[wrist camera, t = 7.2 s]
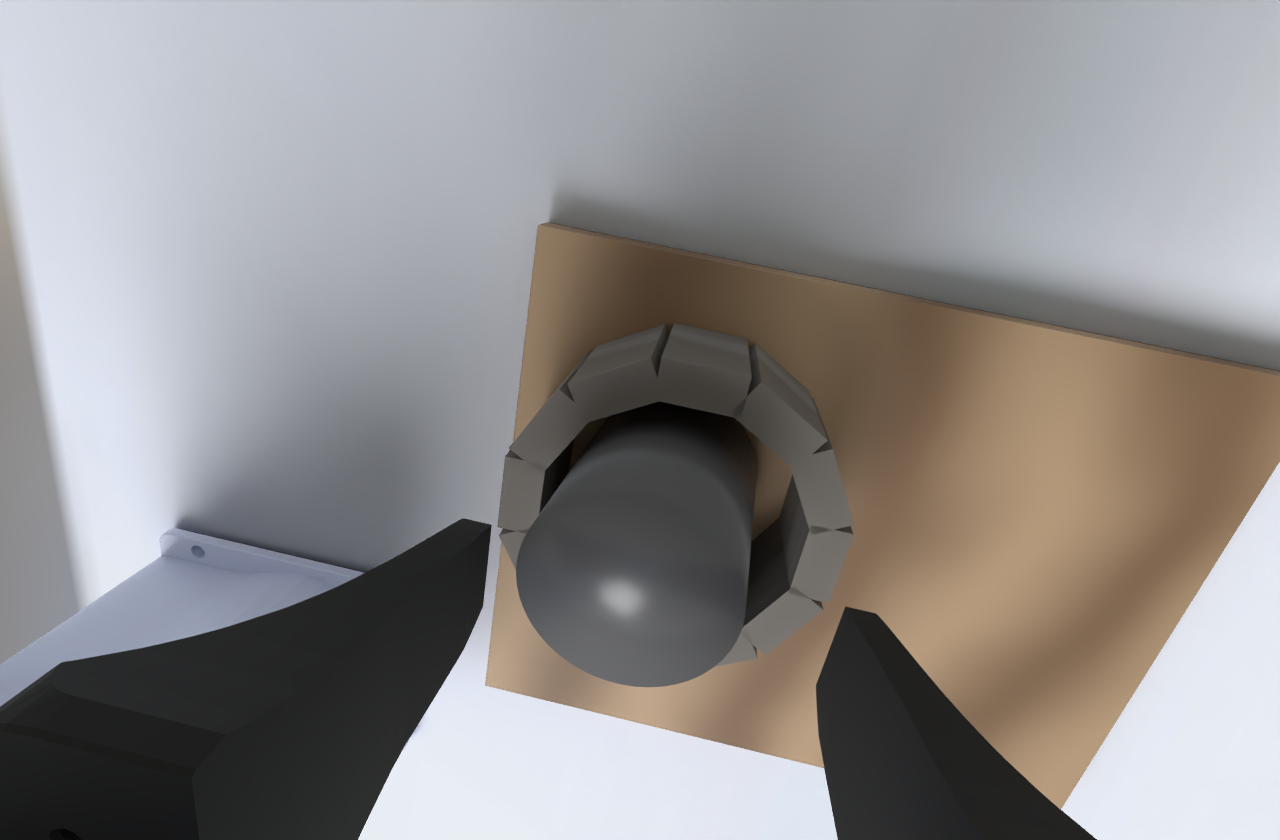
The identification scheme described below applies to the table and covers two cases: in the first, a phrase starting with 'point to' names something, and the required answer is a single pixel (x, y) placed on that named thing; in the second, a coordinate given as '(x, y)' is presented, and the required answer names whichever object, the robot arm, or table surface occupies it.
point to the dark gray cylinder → (646, 548)
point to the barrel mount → (893, 490)
